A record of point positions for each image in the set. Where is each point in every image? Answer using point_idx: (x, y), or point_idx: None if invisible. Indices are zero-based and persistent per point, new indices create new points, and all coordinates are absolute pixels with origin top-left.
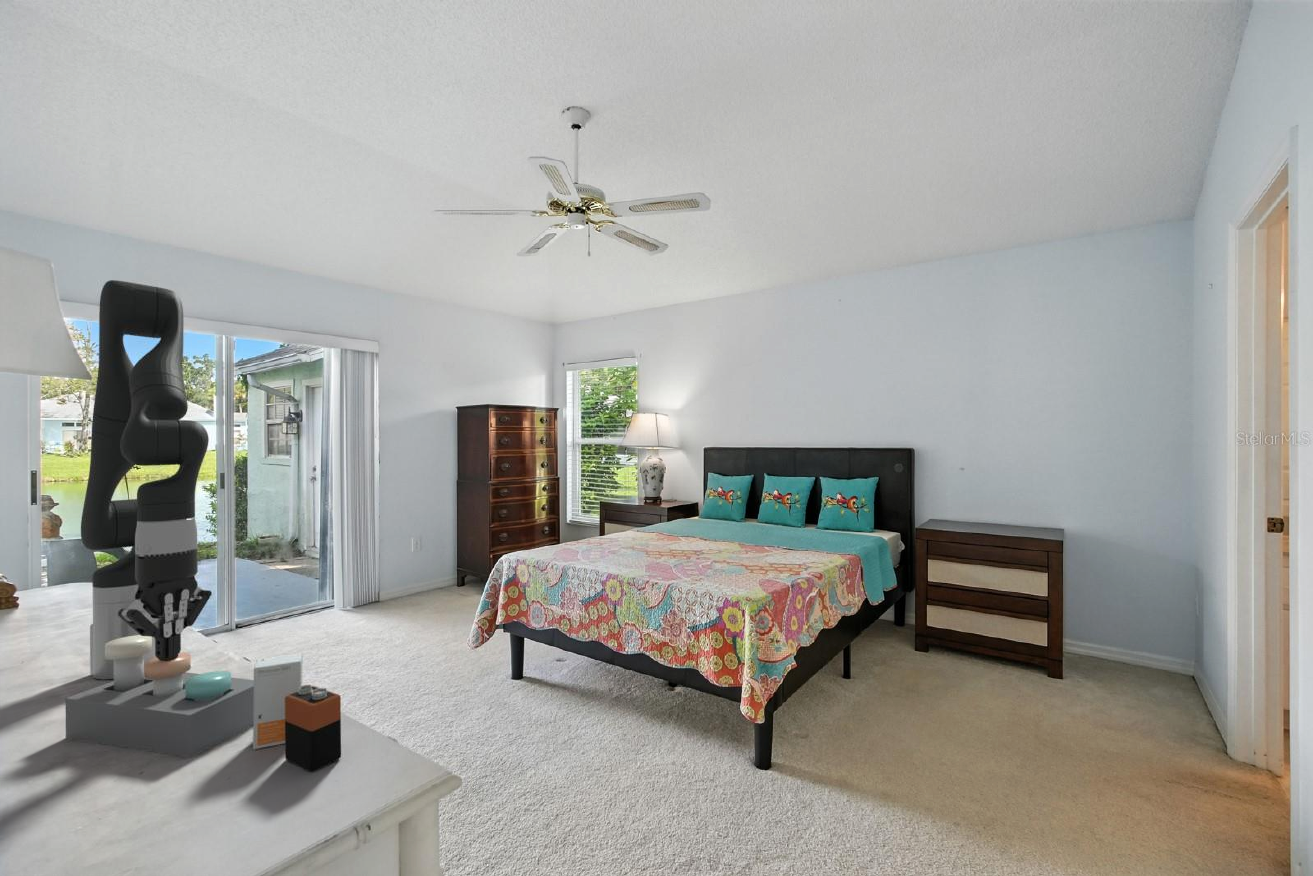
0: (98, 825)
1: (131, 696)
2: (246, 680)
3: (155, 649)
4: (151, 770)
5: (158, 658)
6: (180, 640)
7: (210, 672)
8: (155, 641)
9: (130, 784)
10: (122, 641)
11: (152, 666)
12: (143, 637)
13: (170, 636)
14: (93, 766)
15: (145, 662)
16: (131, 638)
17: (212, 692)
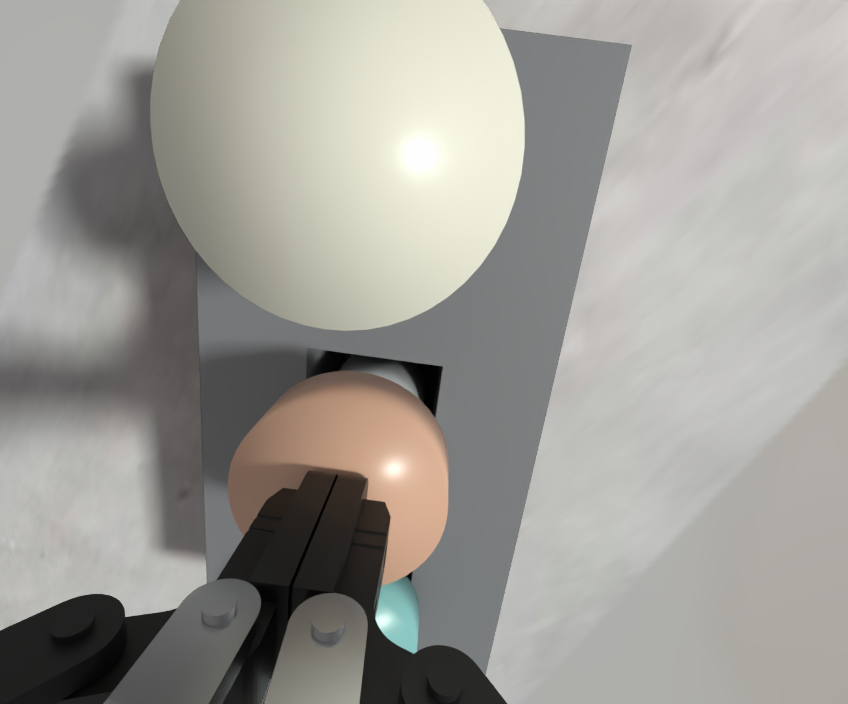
0: (28, 569)
1: (279, 328)
2: (485, 631)
3: (251, 526)
4: (196, 507)
5: (307, 474)
6: (375, 617)
7: (389, 625)
8: (223, 572)
9: (140, 511)
10: (300, 103)
11: (232, 506)
12: (443, 209)
13: (271, 670)
14: (168, 351)
15: (267, 420)
16: (398, 104)
17: None
